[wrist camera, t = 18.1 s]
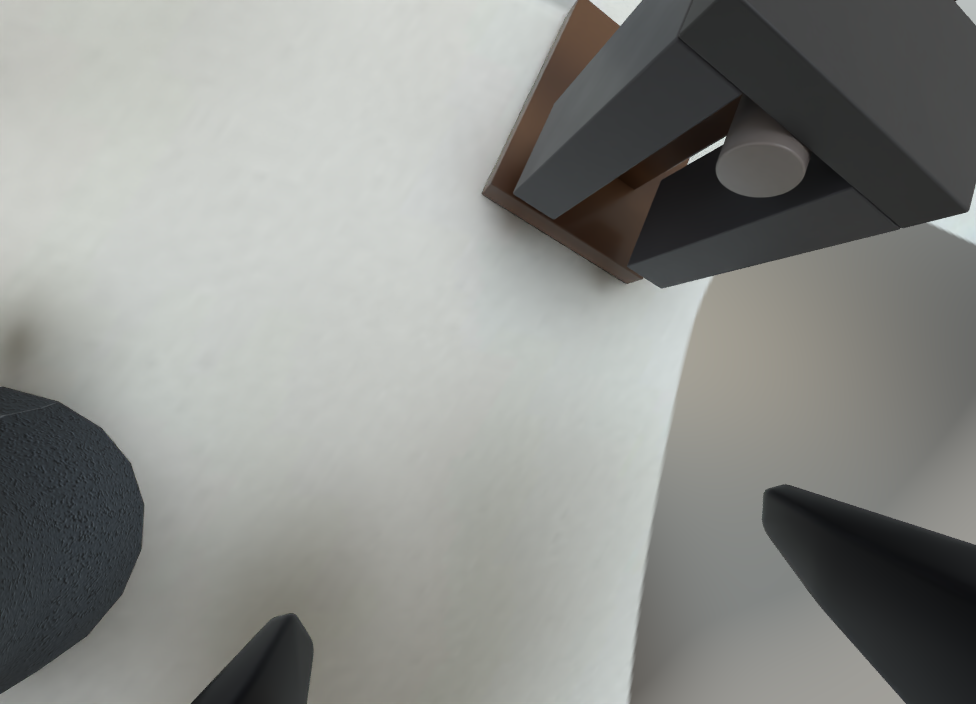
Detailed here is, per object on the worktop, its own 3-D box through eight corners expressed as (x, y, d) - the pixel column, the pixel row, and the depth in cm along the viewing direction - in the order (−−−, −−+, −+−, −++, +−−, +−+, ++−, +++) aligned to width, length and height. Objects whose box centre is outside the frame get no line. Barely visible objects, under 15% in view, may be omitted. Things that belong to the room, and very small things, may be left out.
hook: (615, 312, 21) (967, 239, 10) (466, 224, 19) (691, -10, 7) (693, 114, 24) (1061, -144, 12) (567, 13, 21) (868, -431, 10)
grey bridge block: (661, 289, 18) (970, 213, 9) (511, 193, 16) (729, -14, 7) (693, 203, 19) (1007, 60, 10) (554, 102, 17) (798, -183, 8)
